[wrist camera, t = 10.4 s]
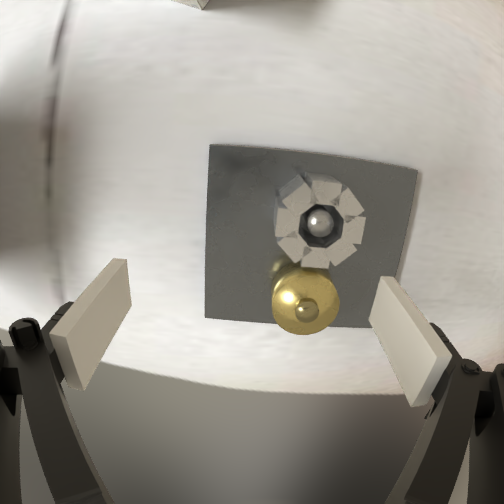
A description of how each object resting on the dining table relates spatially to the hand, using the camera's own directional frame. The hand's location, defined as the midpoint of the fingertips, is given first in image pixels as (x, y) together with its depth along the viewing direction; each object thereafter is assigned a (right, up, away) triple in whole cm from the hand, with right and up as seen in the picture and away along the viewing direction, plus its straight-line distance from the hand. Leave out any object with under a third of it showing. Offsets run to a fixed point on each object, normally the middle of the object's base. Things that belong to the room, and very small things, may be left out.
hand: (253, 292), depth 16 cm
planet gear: (+6, +6, +17) cm, 19 cm away
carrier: (+6, +3, +19) cm, 20 cm away
